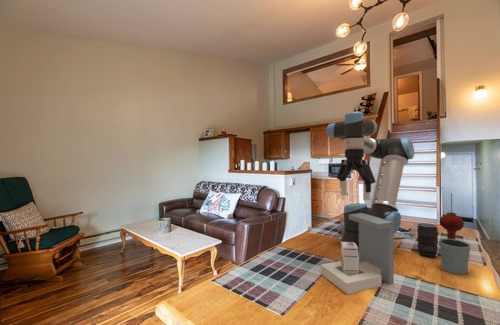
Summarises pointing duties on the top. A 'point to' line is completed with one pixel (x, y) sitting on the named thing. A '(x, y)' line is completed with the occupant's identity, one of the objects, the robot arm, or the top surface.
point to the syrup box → (349, 258)
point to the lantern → (451, 223)
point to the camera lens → (427, 240)
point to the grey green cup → (454, 256)
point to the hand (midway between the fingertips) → (354, 197)
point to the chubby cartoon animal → (341, 227)
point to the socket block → (367, 256)
